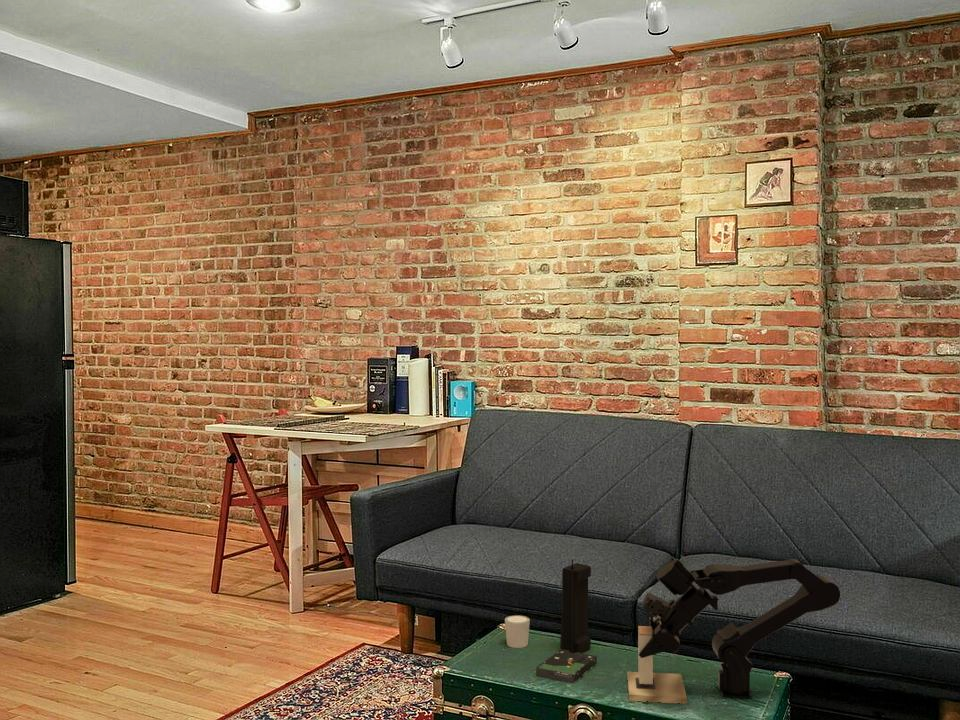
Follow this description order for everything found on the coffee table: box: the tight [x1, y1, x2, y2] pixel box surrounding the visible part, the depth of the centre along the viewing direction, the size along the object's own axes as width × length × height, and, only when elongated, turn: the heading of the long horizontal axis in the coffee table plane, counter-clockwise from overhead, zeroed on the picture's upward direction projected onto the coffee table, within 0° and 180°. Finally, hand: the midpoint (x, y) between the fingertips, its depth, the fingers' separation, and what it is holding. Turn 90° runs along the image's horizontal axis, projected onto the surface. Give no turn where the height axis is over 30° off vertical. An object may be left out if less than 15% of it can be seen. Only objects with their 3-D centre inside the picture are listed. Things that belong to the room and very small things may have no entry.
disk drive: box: [535, 649, 598, 684], centre depth 224 cm, size 10×3×15 cm
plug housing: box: [637, 625, 654, 684], centre depth 211 cm, size 3×5×12 cm, turn 173°
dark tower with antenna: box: [559, 559, 592, 653], centre depth 238 cm, size 8×6×25 cm
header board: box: [626, 671, 688, 705], centre depth 211 cm, size 13×14×4 cm
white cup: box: [504, 615, 531, 649], centre depth 242 cm, size 7×7×7 cm
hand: (639, 652), depth 211 cm, fingers closed on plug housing, 5 cm apart
